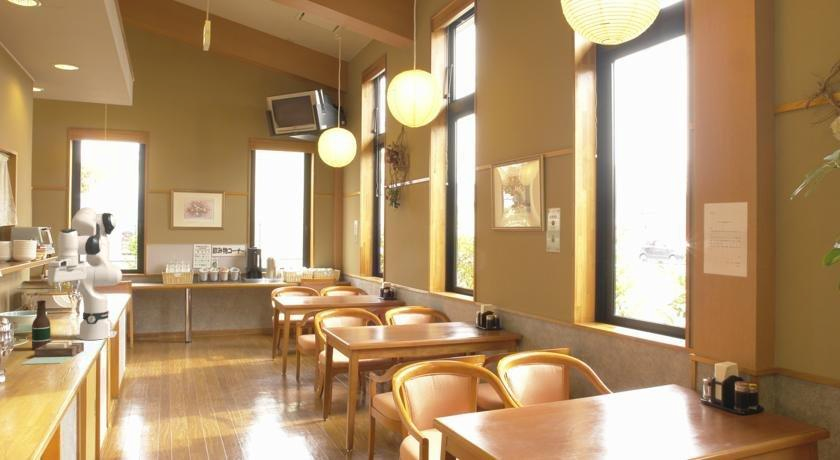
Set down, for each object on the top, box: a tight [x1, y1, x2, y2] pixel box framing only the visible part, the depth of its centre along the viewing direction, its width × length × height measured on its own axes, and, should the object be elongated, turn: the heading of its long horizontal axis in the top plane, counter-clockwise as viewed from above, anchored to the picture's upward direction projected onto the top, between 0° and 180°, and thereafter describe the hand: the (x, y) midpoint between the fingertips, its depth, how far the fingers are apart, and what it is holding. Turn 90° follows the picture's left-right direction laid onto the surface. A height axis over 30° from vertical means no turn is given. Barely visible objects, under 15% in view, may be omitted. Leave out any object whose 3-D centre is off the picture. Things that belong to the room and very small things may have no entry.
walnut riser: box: [34, 342, 85, 358], centre depth 282 cm, size 14×16×4 cm
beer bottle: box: [31, 299, 51, 351], centre depth 293 cm, size 8×8×24 cm
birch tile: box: [46, 339, 73, 348], centre depth 281 cm, size 8×8×2 cm
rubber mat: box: [21, 357, 72, 366], centre depth 269 cm, size 12×16×1 cm
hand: (67, 290), depth 290 cm, fingers open, 8 cm apart
